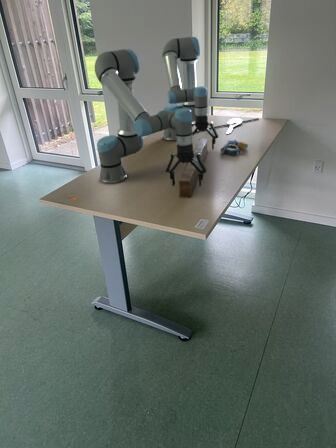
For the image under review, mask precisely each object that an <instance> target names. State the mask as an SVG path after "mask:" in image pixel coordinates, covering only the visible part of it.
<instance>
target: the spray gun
mask: <svg viewBox="0 0 336 448" xmlns="http://www.w3.org/2000/svg"><path fill="white" fill-rule="evenodd" d="M248 147H249V145H248V143H246V142H243V141H238V140H236V139H234V140H228V139H227V142H226V143H225V144H224V145H223V146H222V147H221V149H220V153H221V154H223V155H225V154H226V155H230V156H238V155H240V154H241V152H242V150H243V151H247V149H248Z"/></svg>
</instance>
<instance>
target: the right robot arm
mask: <svg viewBox="0 0 336 448" xmlns="http://www.w3.org/2000/svg"><path fill="white" fill-rule="evenodd" d="M164 45H165V46H164V47H163V49H162V56H161V57H162V62H163V63H164V65H165V70H166V71H165V72H166V76H167V82H168V89H169V90H168V91H167V102H168V104H169V105H166V106H165V107H164V108H163V111H165V110H167V111H170V112H175V110H177V109H180V108H188V109H190V110H191V115H192V128H193V127H195V129H194V130H193V131H192V136H193V137H194V135H195V134H196V133H197V134H198V133H200V132H204V131H205V132H207V134H209V136H210V137H211V150H212V151H213V150H214V149H215V146H214V145H216V139H218V138H219V134H218V132H217V130H216V128H222V127H227V126H229V125H228V123H227V124H221V125H216V126H214V121H211V122H209V115H208V113H209V109H208V104H209V103H208V94H209V93H208V88H207V86H203V85H201V86H197V69H196V65H197V64H196V63H197V61H198V59H199V58H200V56H201V46H200V42H199V39H198V37H197V36H186V37H178V38H172V39H170V40H169V41H167V43H165V44H164ZM178 59H180V60H179V62H180V63H181V64H182V79H183V86H182V81H181V76H180V71H179V66H178ZM180 104H181V105H180ZM258 120H260V118H259V117H257V118H252V119H248V120H242V122H241V124H243V123H247V122H252V121H258ZM236 123H238V122H236ZM236 123H231V124H236ZM162 139H163V140H164V141H167V142H177V141H176V130H175V129H165V130H163V135H162ZM193 142H194V141H193ZM193 142H192V144H193ZM193 145H194V144H193Z"/></svg>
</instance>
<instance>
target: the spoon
mask: <svg viewBox="0 0 336 448" xmlns="http://www.w3.org/2000/svg"><path fill="white" fill-rule="evenodd" d="M242 121H243V119H242V118H239V117H238V118H237V117H235V118H231V119H229V120H228V121H227V124H228V125H227V126H229V128H228V129H227V131H226V134H227V135H229V134H232V131H233V128H234V127H237V126H239V125H241V124H242V123H241V122H242ZM236 122H238V123H236ZM231 123H236V124H231Z"/></svg>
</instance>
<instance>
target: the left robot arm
mask: <svg viewBox="0 0 336 448" xmlns="http://www.w3.org/2000/svg"><path fill="white" fill-rule="evenodd" d="M95 59H96V60H95V62H94V73H95V77H96V78H97V80H98V82H99V84H100V85H101V86H102V87H104V88H105V87H106V89H107V90H108V91H109V92H110V93H111V95H112V96H113V97H114V98H115V100H116V101H117V110H118V122H119V123H118V124H119V128H118V130H117V135H115V134H111V135H106V136H103V137H101V138H99V139H98V140H97V142H96V148H97V149H96V150H97V154H98V158H99V163H100V173H99V180H100V183H102V184H107V185H112V184H119V183H122V182H124V181H125V180H126V179H127V178H128V174H127V172H126V169H125V168H124V166H123V164H122V158H125V157H128V156H131V155H135V154H136V153H139V152H140V151H142V149H143V147H144V137H148V136H151V135H153V134H155V133H159V132H162V131H164V130H165V129H175V130H176V141H175V142H176V153H174V152H171V154H170V159H169V162H168V164H167V167H166V169H165V173H168V174H169V179H170V180H171V183H172V184H171V185H172V187H174V186H175V184H176V178H175V169H176V168H177V167H178V166H179V165H180V163H182V164H187V163H191V164H192V165H193V166H194V167H195V168H196V169H197V170H198V172H199V175H198V187H202V181H203V180H204V174H207V172H208V169H207V167H206V165H205V162H203V161H202V159H201V157H200V153H198V154H194V153H193V151H194V144H192V142H194V139H193V137H194V135H193V136H192V132H193V127H192V123H193V122H192V115H191V110H190V109H188V108H180V109H177V110H175V112H170V111H167V110H165V111H164V110H159V111H158V112H157V113H156V114H153V115H151V114H150V113H149V112H148V111H147V109H146V108H145V107H144V106H143V104H142V103H141V102H140V101H139V100H138V98H137V97H136V96H135V94H134V82H135V81H136V75H137V74H138V73H139V71H140V69H141V66H140V65H141V64H140V60H139V57H138V55H137V54H136V52H134V50H132V49H130V48H121V49H116V50H111V51H103V52H101V53H100V54H99V55H98V56H97V57H96V58H95ZM193 157H196V158H197V160H198V162H199V164H200V166H201V167H200V166H199V165H198V164H197V163H196V162H195V160H194V159H193ZM176 158H177V159H178V160H177V161H176V162H175V163H174V165H173V166H172V164H173V162H174V159H176ZM171 166H172V167H171Z"/></svg>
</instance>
